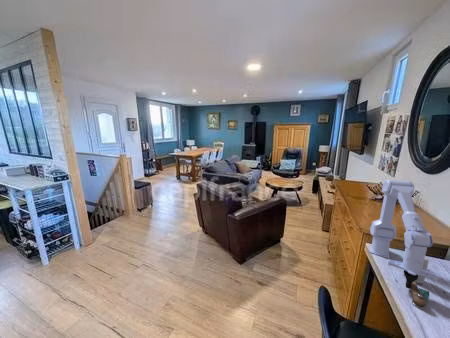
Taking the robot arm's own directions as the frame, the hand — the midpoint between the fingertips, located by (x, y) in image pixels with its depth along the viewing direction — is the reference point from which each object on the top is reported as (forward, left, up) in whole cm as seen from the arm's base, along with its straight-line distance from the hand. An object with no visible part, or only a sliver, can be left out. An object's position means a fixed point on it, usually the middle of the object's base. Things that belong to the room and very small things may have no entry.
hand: (407, 286), depth 78 cm
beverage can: (-10, +3, -2) cm, 10 cm away
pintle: (+7, +3, -1) cm, 8 cm away
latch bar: (+3, +2, -1) cm, 4 cm away
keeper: (+4, +4, -1) cm, 6 cm away
